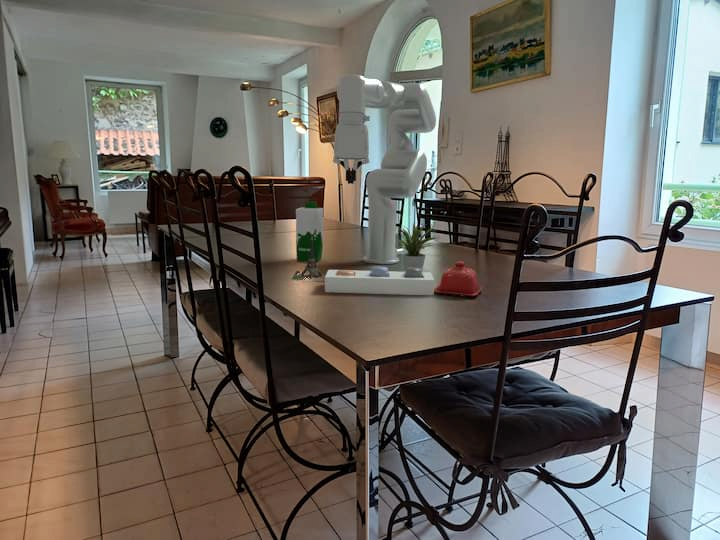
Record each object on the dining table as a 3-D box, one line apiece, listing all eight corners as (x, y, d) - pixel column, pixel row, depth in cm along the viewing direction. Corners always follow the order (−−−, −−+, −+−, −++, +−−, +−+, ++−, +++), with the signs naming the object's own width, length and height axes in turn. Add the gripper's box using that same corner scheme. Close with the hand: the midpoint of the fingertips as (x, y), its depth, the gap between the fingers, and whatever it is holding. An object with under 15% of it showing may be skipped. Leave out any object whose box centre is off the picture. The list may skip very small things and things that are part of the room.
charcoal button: (420, 279, 140) (421, 267, 139) (422, 282, 136) (422, 270, 135) (404, 278, 140) (405, 267, 139) (405, 282, 136) (405, 270, 135)
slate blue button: (387, 278, 140) (387, 266, 139) (387, 281, 136) (388, 269, 135) (371, 277, 140) (371, 266, 140) (371, 281, 136) (371, 269, 135)
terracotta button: (354, 281, 141) (354, 270, 140) (353, 285, 136) (353, 273, 136) (337, 281, 141) (338, 269, 140) (336, 284, 136) (336, 272, 136)
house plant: (412, 282, 148) (414, 225, 145) (378, 274, 158) (380, 220, 155) (444, 276, 157) (447, 222, 154) (411, 269, 167) (413, 218, 164)
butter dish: (431, 295, 134) (432, 262, 132) (442, 286, 145) (443, 256, 143) (476, 300, 130) (478, 267, 128) (484, 291, 140) (486, 260, 139)
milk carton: (324, 259, 183) (325, 202, 179) (318, 263, 174) (318, 203, 171) (300, 257, 185) (300, 201, 181) (293, 262, 176) (293, 202, 172)
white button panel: (429, 286, 143) (430, 272, 142) (433, 295, 133) (434, 280, 132) (328, 283, 144) (328, 269, 143) (324, 292, 134) (324, 277, 133)
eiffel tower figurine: (295, 272, 161) (295, 229, 158) (328, 273, 161) (328, 230, 159) (290, 283, 146) (290, 236, 144) (326, 283, 147) (326, 236, 144)
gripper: (377, 121, 155) (375, 183, 159) (327, 120, 156) (327, 182, 159) (377, 119, 148) (375, 184, 151) (325, 118, 148) (324, 183, 152)
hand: (350, 183), depth 155 cm, fingers closed
